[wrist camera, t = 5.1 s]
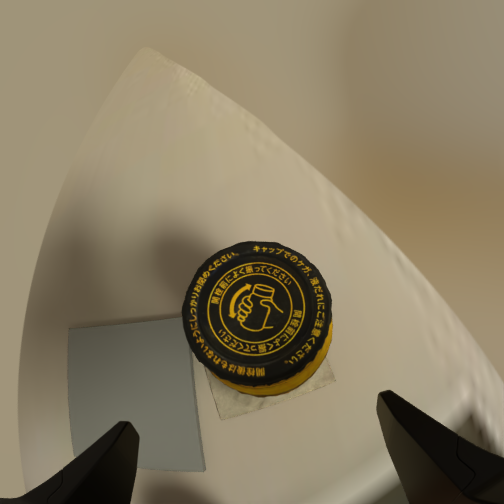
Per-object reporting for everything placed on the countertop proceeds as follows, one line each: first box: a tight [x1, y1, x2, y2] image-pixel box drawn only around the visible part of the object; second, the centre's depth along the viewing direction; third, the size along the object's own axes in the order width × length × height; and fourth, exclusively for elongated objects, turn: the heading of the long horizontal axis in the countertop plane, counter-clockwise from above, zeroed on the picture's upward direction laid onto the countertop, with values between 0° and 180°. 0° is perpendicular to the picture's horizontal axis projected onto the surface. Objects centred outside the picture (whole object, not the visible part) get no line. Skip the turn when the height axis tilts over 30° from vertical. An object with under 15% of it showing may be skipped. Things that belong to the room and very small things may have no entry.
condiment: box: [182, 241, 336, 420], centre depth 15 cm, size 7×8×12 cm
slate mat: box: [68, 317, 206, 472], centre depth 19 cm, size 12×12×1 cm
